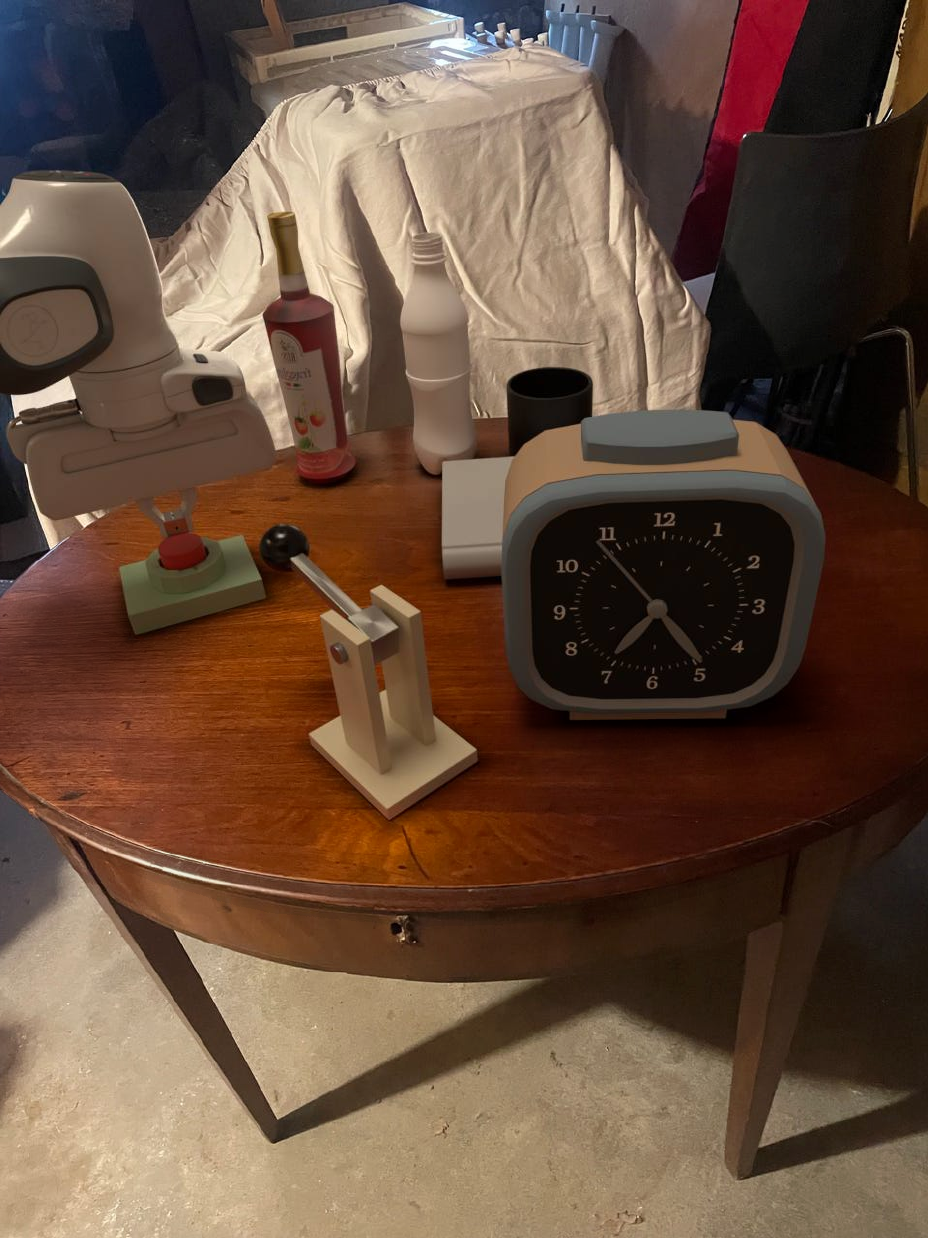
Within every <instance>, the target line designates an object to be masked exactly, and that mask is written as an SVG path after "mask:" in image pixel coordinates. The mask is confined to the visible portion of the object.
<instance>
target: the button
mask: <svg viewBox="0 0 928 1238" xmlns="http://www.w3.org/2000/svg"><path fill="white" fill-rule="evenodd" d="M157 549H158V552H159V555H160V558H161V561H162V564H163V567H164V568H165V569H167V570H184V569H188V568H192V567H195V566H196V565H198V564H200V563H201V562H203V561H205V559H206V551H205V548H204V544H203V541H202V538H201V536H200V535H199V534H197V533H194V532H188V533H184V534H181V535H177V536H173V537H169V538H166V539H162V541H161V542H160V543H159V545H158V547H157Z"/></svg>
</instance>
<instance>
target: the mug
mask: <svg viewBox="0 0 928 1238" xmlns="http://www.w3.org/2000/svg"><path fill="white" fill-rule="evenodd" d="M505 388H506V389H505V390H506V409H507V435H508V455H509V456H508V457H514V456H516V454H517V453H518V452H519V450H520V449H521V448H522V447H523V445H524V444H526V443H527V442H529V441H530V440H532V439H533V438H535V437H536V436H538V435H539V434H541V433H542V432H544V431H545V430H551V429H556V428H561V427H566V426H572V425H577V424H581V421H582V420H583V419H584V418H588V417H593V399H594V397H593V396H594V383H593V378H592V377H591V375H589V374H588V373H586V372H585V371H582V370H579V369H576V368H572V367H571V368H570V367H564V366H543V367H535V368H530V369H526V370H524V371H523V370H522V371H520V372H518V373H516V374H514V375H512V376H511V377H510V378H509V379H508V380H507V382H506V387H505Z"/></svg>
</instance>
